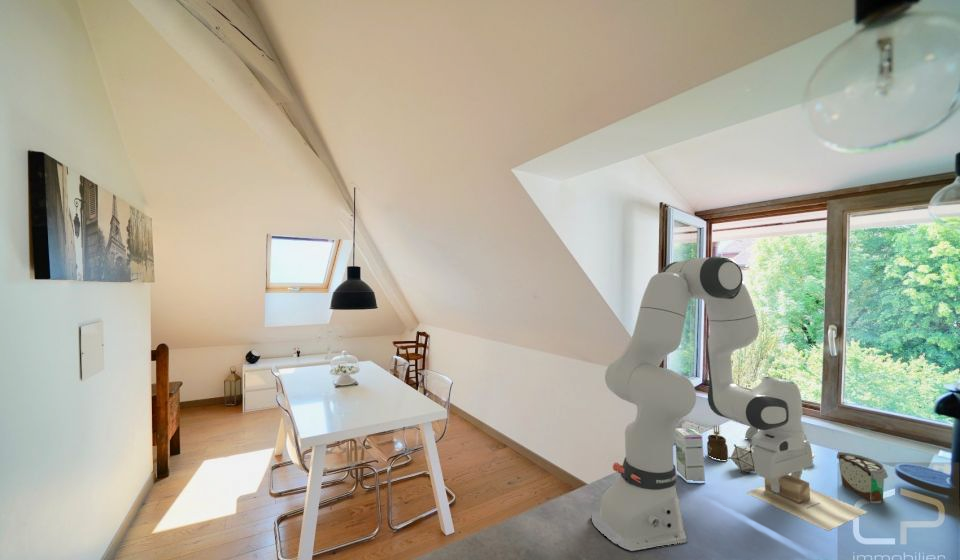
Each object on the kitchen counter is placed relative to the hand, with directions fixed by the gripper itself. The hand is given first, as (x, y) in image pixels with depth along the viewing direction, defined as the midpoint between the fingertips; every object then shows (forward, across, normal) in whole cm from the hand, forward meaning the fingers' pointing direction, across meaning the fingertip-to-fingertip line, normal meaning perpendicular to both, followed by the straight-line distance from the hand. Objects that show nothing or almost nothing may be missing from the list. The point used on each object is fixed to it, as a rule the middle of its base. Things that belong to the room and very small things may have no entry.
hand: (785, 487), depth 99 cm
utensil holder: (+3, -7, -24) cm, 25 cm away
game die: (+3, -6, -14) cm, 16 cm away
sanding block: (+2, 0, 0) cm, 2 cm away
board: (+3, 0, +4) cm, 5 cm away
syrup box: (+3, +14, -18) cm, 23 cm away
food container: (+3, -20, +9) cm, 22 cm away
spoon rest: (+3, -30, -19) cm, 36 cm away
